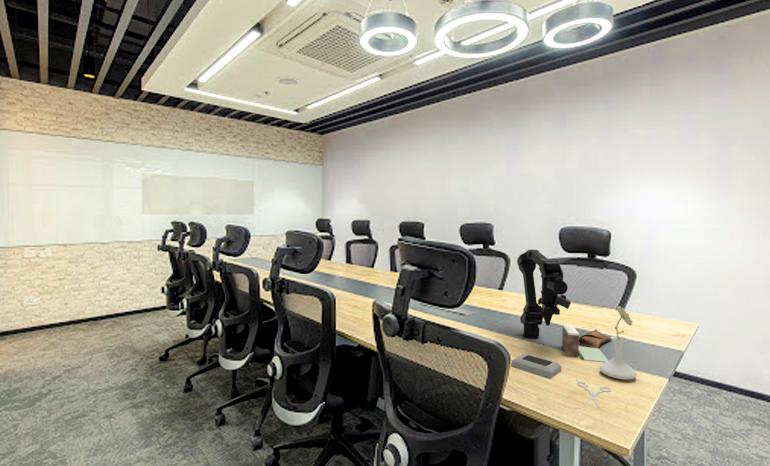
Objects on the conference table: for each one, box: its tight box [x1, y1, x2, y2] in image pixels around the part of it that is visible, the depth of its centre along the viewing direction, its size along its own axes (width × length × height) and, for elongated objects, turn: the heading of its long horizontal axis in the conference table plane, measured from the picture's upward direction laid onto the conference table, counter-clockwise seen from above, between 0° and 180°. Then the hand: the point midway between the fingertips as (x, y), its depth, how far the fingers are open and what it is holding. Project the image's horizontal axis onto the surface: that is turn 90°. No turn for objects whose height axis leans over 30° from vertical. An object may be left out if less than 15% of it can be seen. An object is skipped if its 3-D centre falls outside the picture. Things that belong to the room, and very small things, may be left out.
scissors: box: [575, 378, 612, 410], centre depth 119 cm, size 11×1×20 cm
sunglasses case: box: [579, 329, 612, 348], centre depth 169 cm, size 18×7×7 cm
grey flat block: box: [510, 353, 562, 380], centre depth 139 cm, size 10×4×15 cm
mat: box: [578, 345, 609, 363], centre depth 155 cm, size 10×16×1 cm, turn 164°
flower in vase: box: [598, 305, 637, 380], centre depth 134 cm, size 13×11×25 cm
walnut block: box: [561, 324, 580, 359], centre depth 157 cm, size 4×12×10 cm, turn 164°
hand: (547, 325), depth 159 cm, fingers closed
